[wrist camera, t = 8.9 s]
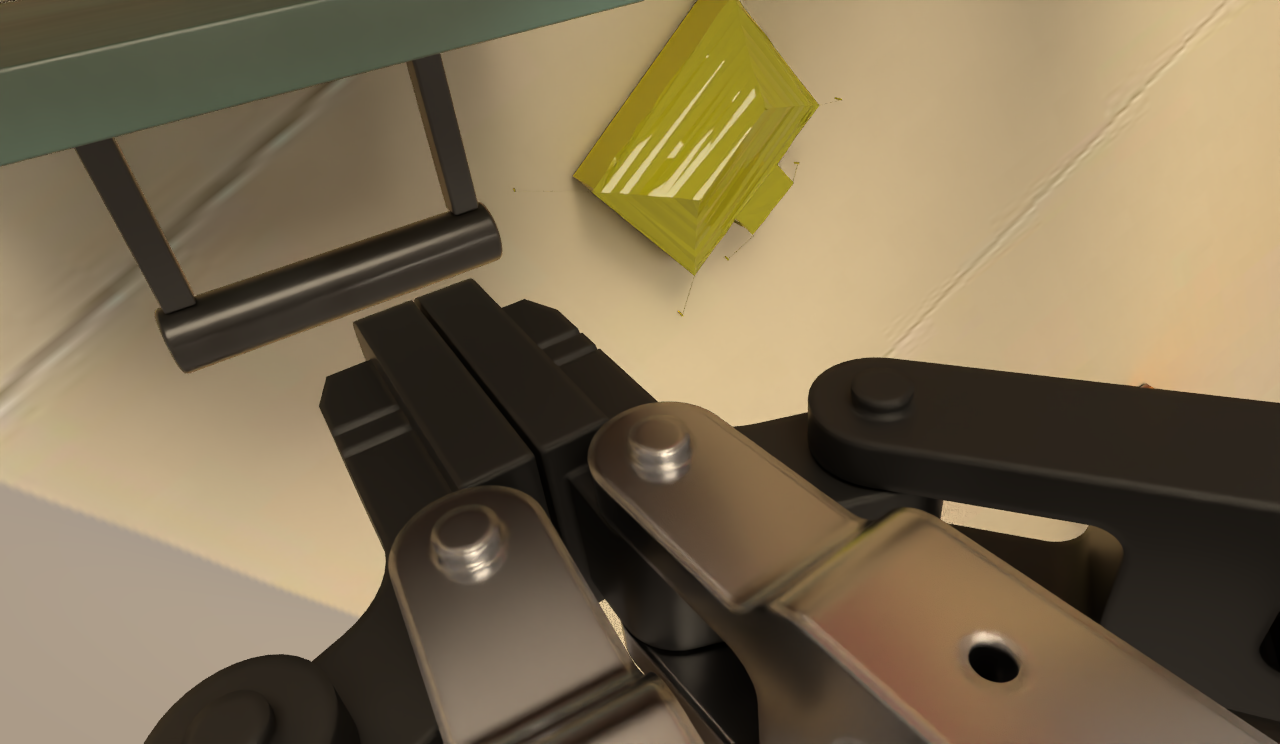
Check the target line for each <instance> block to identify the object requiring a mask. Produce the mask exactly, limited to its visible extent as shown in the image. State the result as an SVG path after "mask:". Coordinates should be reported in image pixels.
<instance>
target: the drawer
mask: <svg viewBox="0 0 1280 744" xmlns="http://www.w3.org/2000/svg"><path fill="white" fill-rule="evenodd" d="M641 1H644V0H18V1H13V2H8V3H3V4H0V167H1V166H5V165H9V164H13V163H17V162H21V161H25V160H29V159H32V158H36V157H40V156H44V155H48V154H52V153H56V152H60V151H63V150H67V149H71V148H74V149H75V151H76V152H77V154H78V156H79V158H80V160H81V162H82V163H83V165H84V167H85V169H86V171H87V173H88V174H89V176H90V178H91V180H92V182H93V184H94V185H95V187H96V189H97V191H98V193H99V195H100V196H101V198H102V200H103V202H104V204H105V206H106V207H107V209H108V211H109V213H110V215H111V217H112V219H113V220H114V222H115V224H116V226H117V228H118V230H119V231H120V233H121V235H122V237H123V239H124V241H125V242H126V244H127V246H128V248H129V250H130V252H131V253H132V255H133V257H134V259H135V261H136V263H137V264H138V266H139V268H140V270H141V272H142V274H143V275H144V277H145V279H146V281H147V283H148V285H149V286H150V288H151V290H152V292H153V294H154V296H155V298H156V299H157V301H158V303H159V305H160V307H161V308H158V309H157V310H156V311H155V319H156V323H157V325H158V328H159V330H160V333H161V335H162V337H163V339H164V342H165V344H166V346H167V348H168V350H169V352H170V353H171V355H172V357H173V359H174V360H175V362H176V364H177V365H178V367H179V368H180V369H181V370H182V371H183V372H184V373H192V372H195V371H198V370H200V369H203V368H206V367H208V366H211V365H214V364H217V363H219V362H222V361H225V360H227V359H230V358H233V357H236V356H238V355H241V354H244V353H246V352H249V351H252V350H255V349H257V348H260V347H263V346H266V345H268V344H271V343H274V342H276V341H279V340H282V339H285V338H287V337H290V336H293V335H295V334H298V333H301V332H304V331H306V330H309V329H312V328H315V327H317V326H320V325H323V324H325V323H328V322H331V321H334V320H336V319H339V318H342V317H344V316H347V315H350V314H353V313H355V312H358V311H361V310H364V309H366V308H369V307H372V306H374V305H377V304H380V303H383V302H385V301H388V300H391V299H393V298H396V297H399V296H402V295H404V294H407V293H410V292H413V291H415V290H418V289H421V288H423V287H426V286H429V285H432V284H434V283H437V282H440V281H442V280H445V279H448V278H451V277H453V276H456V275H459V274H462V273H464V272H467V271H470V270H472V269H475V268H478V267H481V266H483V265H486V264H489V263H491V262H494V261H497V260H499V259H500V258H501V257H502V243H501V238H500V235H499V231H498V229H497V226H496V224H495V221H494V219H493V217H492V215H491V214H490V212H489V211H488V209H487V208H486V206H485V205H484V204H483V203H481V202H477V198H476V194H475V190H474V186H473V182H472V178H471V174H470V170H469V166H468V162H467V158H466V154H465V150H464V146H463V142H462V138H461V134H460V130H459V126H458V122H457V118H456V114H455V110H454V106H453V102H452V98H451V94H450V90H449V86H448V82H447V78H446V74H445V70H444V66H443V62H442V58H441V54H440V53H444V52H447V51H451V50H455V49H459V48H463V47H467V46H471V45H475V44H478V43H482V42H486V41H490V40H494V39H498V38H502V37H506V36H509V35H513V34H517V33H521V32H525V31H529V30H533V29H537V28H540V27H544V26H548V25H552V24H556V23H560V22H564V21H568V20H571V19H575V18H579V17H583V16H587V15H591V14H595V13H599V12H603V11H606V10H610V9H614V8H618V7H622V6H626V5H630V4H634V3H637V2H641ZM405 62H406V64H407V67H408V71H409V75H410V78H411V82H412V85H413V89H414V93H415V96H416V100H417V104H418V107H419V111H420V114H421V118H422V122H423V125H424V129H425V132H426V136H427V140H428V143H429V147H430V151H431V154H432V158H433V161H434V165H435V169H436V172H437V176H438V179H439V183H440V187H441V190H442V194H443V197H444V201H445V205H446V207H447V209H448V210H450V211H447V212H444V213H441V214H438V215H435V216H432V217H429V218H426V219H423V220H420V221H417V222H414V223H411V224H408V225H405V226H402V227H399V228H396V229H393V230H390V231H387V232H384V233H382V234H379V235H376V236H373V237H370V238H367V239H364V240H361V241H358V242H355V243H352V244H349V245H346V246H343V247H340V248H337V249H334V250H331V251H328V252H325V253H322V254H319V255H316V256H313V257H310V258H307V259H304V260H301V261H298V262H295V263H292V264H289V265H286V266H283V267H280V268H277V269H274V270H271V271H268V272H265V273H262V274H259V275H256V276H253V277H250V278H247V279H244V280H241V281H238V282H235V283H232V284H229V285H226V286H223V287H220V288H217V289H214V290H211V291H208V292H205V293H202V294H199V295H196V296H194V293H193V290H192V288H191V286H190V284H189V282H188V280H187V278H186V276H185V275H184V273H183V271H182V269H181V267H180V265H179V263H178V261H177V259H176V257H175V255H174V253H173V251H172V249H171V247H170V245H169V243H168V241H167V239H166V237H165V235H164V233H163V231H162V229H161V227H160V225H159V224H158V222H157V220H156V218H155V216H154V214H153V212H152V210H151V208H150V206H149V204H148V202H147V200H146V198H145V196H144V194H143V192H142V190H141V188H140V186H139V184H138V182H137V180H136V178H135V176H134V174H133V173H132V171H131V169H130V167H129V165H128V163H127V161H126V159H125V157H124V155H123V153H122V151H121V149H120V147H119V145H118V143H117V141H116V139H115V137H118V136H122V135H125V134H129V133H133V132H137V131H141V130H145V129H149V128H153V127H157V126H160V125H164V124H168V123H172V122H176V121H180V120H184V119H188V118H191V117H195V116H199V115H203V114H207V113H211V112H215V111H219V110H222V109H226V108H230V107H234V106H238V105H242V104H246V103H250V102H253V101H257V100H261V99H265V98H269V97H273V96H277V95H281V94H285V93H288V92H292V91H296V90H300V89H304V88H308V87H312V86H316V85H319V84H323V83H327V82H331V81H335V80H339V79H343V78H347V77H350V76H354V75H358V74H362V73H366V72H370V71H374V70H378V69H381V68H385V67H389V66H393V65H397V64H401V63H405Z"/></svg>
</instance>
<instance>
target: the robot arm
mask: <svg viewBox="0 0 1280 744" xmlns="http://www.w3.org/2000/svg"><path fill="white" fill-rule="evenodd" d="M353 326H354V330H355V333H356V336H357V339H358V341H359V344H360V347H361V349H362V352H363V354H364V357H365V360H366V361H365V362H363V363H360V364H358V365H355V366H353V367H350V368H347V369H345V370H342V371H340V372H337V373H335V374H332V375H330V376H327V377H326V381H325V385H324V389H323V392H322V396H321V400H320V404H319V407H320V410H321V412H322V414H323V416H324V419H325V421H326V423H327V425H328V428H329V430H330V432H331V434H332V436H333V439H334V441H335V443H336V445H337V448H338V450H339V452H340V454H341V457H342V459H343V461H344V463H345V466H346V468H347V470H348V472H349V474H350V477H351V479H352V481H353V483H354V486H355V488H356V490H357V492H358V495H359V497H360V499H361V501H362V503H363V506H364V508H365V510H366V512H367V514H368V516H369V519H370V521H371V523H372V525H373V527H374V529H375V532H376V534H377V536H378V538H379V540H380V542H381V545H382V547H383V549H384V551H385V557H386V565H385V573H384V577H383V580H382V583H381V586H380V588H379V590H378V592H377V594H376V596H375V598H374V600H373V601H372V603H371V604H370V606H369V607H368V609H367V610H366V612H365V613H364V614H363V615H362V616H361V617H360V619H359V620H358V621H357V622H356V623H355V624H354V625H353V626H352V627H351V628H350V629H349V630H348V631H347V632H346V633H345V634H344V635H343V636H341V637H340V638H339V639H338V640H337V641H335V642H334V643H333V644H332V645H331V646H330V647H329V648H327V649H326V650H325V651H324V652H323V653H321V654H320V655H319V656H318V657H317V658H315V659H314V660H313V661H312V662H311V661H309V660H307V659H304V658H301V657H298V656H292V655H284V654H279V655H265V656H260V657H255V658H250V659H247V660H244V661H242V662H239V663H236V664H233V665H231V666H229V667H227V668H224V669H222V670H220V671H218V672H217V673H215V674H214V675H211V676H210V677H208V678H206V679H205V680H203V681H202V682H201V683H199V684H198V685H196V686H195V687H194V688H192V689H191V690H190V691H188V692H187V693H186V694H185V695H184V696H183V697H182V698H180V699H179V700H178V701H177V702H176V703H175V704H174V705H173V706H172V707H171V708H170V709H169V710H168V712H167V713H166V714H165V715H164V716H163V717H162V718H161V719H160V720H159V722H158V723H157V725H156V726H155V727H154V729H153V730H152V732H151V733H150V735H149V736H148V738H147V739H146V741H145V742H144V744H1280V403H1275V402H1266V401H1257V400H1249V399H1240V398H1231V397H1223V396H1214V395H1205V394H1196V393H1188V392H1179V391H1170V390H1162V389H1153V388H1144V387H1136V386H1127V385H1118V384H1110V383H1101V382H1092V381H1083V380H1075V379H1066V378H1057V377H1049V376H1040V375H1031V374H1023V373H1014V372H1005V371H996V370H988V369H979V368H970V367H962V366H953V365H944V364H936V363H927V362H918V361H909V360H901V359H892V358H878V357H877V358H861V359H854V360H850V361H846V362H843V363H840V364H837V365H835V366H833V367H831V368H829V369H827V370H826V371H824V372H823V373H822V374H821V375H819V376H818V377H817V378H816V380H815V381H814V382H813V384H812V386H811V388H810V390H809V395H808V412H807V413H802V414H798V415H793V416H789V417H784V418H780V419H775V420H770V421H766V422H761V423H757V424H751V425H745V426H735V427H732V426H731V425H729V424H728V423H727V422H725V421H724V420H723V419H721V418H720V417H718V416H717V415H715V414H714V413H712V412H710V411H709V410H707V409H704V408H702V407H699V406H696V405H692V404H688V403H681V402H658V401H656V400H655V399H654V398H653V397H652V396H651V395H650V394H649V393H648V392H647V391H645V390H644V389H643V388H642V387H641V386H640V385H639V384H638V383H637V382H636V381H635V380H633V379H632V378H631V377H630V376H629V375H628V374H627V373H626V372H625V371H624V370H623V369H621V368H620V367H619V366H618V365H617V364H616V363H615V362H614V361H613V360H612V359H611V358H609V357H608V356H607V355H606V354H605V353H604V352H603V351H602V350H601V349H598V350H597V348H596V345H595V344H594V343H593V342H592V341H591V340H590V339H589V338H588V337H586V336H585V335H584V334H583V333H579V330H578V328H577V327H576V326H574V325H573V324H572V323H571V322H570V321H569V320H568V319H567V318H566V317H565V316H563V315H562V314H561V313H560V312H559V311H558V310H556V309H553V308H550V307H547V306H544V305H541V304H538V303H535V302H532V301H529V300H526V299H523V300H521V301H518V302H516V303H513V304H511V305H508V306H505V307H503V308H501V307H500V306H499V305H498V304H497V303H496V302H495V301H494V300H493V299H492V298H491V297H490V296H489V295H488V294H487V293H486V292H485V291H484V290H483V289H482V288H481V287H480V285H479V284H478V283H477V282H476V281H474V280H473V279H471V278H469V279H467V280H464V281H461V282H458V283H456V284H453V285H450V286H448V287H445V288H442V289H440V290H437V291H434V292H431V293H429V294H426V295H423V296H421V297H418V298H415V300H414V302H413V301H408V302H405V303H402V304H400V305H397V306H394V307H391V308H389V309H386V310H383V311H381V312H378V313H375V314H373V315H370V316H367V317H365V318H362V319H359V320H356V321H354V322H353ZM943 500H946V501H952V502H958V503H964V504H970V505H975V506H981V507H987V508H993V509H999V510H1005V511H1011V512H1017V513H1022V514H1028V515H1034V516H1040V517H1046V518H1052V519H1058V520H1064V521H1070V522H1075V523H1081V524H1087V525H1089V526H1088V529H1087V530H1086V531H1085V532H1084V533H1083V534H1082V535H1080V536H1079V537H1077V538H1075V539H1072V540H1068V541H1063V542H1049V541H1042V540H1037V539H1031V538H1026V537H1020V536H1014V535H1009V534H1003V533H998V532H992V531H986V530H981V529H975V528H970V527H964V526H959V525H953V524H947V523H946V522H944V521H942V520H941V519H940V518H941V511H942V505H943ZM604 599H606V601H607V602H608V603H609V605H610V606H611V608H612V609H613V610H614V612H615V613H616V614H617V616H618V617H619V618H620V620H621V625H622V630H623V635H624V640H625V645H626V648H627V650H628V652H629V654H628V652H627V650H626V649H625V647H624V645H623V644H622V642H621V640H620V639H619V637H618V635H617V633H616V632H615V630H614V628H613V627H612V625H611V623H610V622H609V620H608V618H607V616H606V615H605V613H604V611H603V610H602V608H601V606H600V604H599V602H601V601H602V600H604ZM629 655H630V656H631V657H630V656H629ZM631 658H632V659H633V660H634V662H635V663H636V664H637V666H638V667H639V668H640V669H641V670H642V671H643V673H644V674H645V675H644V674H643V673H642V672H641V671H640V670H639V669H638V668H637V666H636V665H635V663H634V662H633V660H632V659H631Z"/></svg>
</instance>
